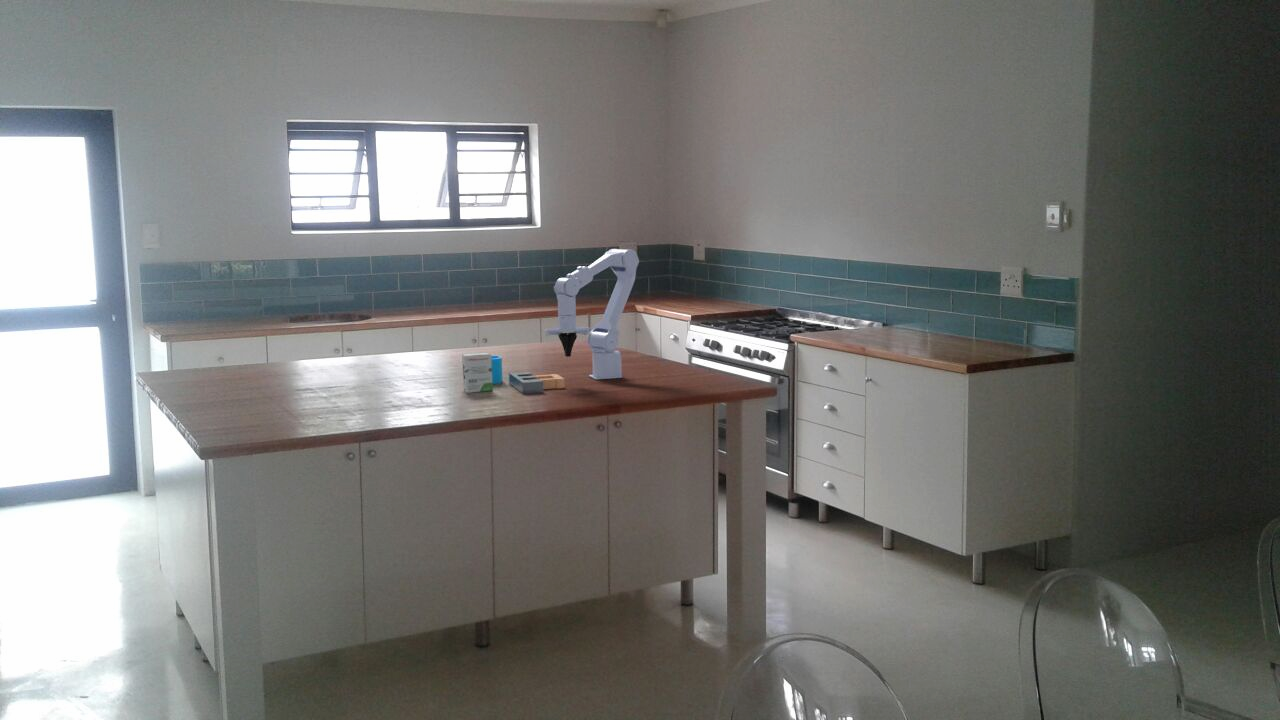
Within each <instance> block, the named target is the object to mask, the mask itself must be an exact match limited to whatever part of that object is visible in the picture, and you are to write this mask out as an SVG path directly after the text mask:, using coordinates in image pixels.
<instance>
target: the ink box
mask: <svg viewBox="0 0 1280 720" xmlns="http://www.w3.org/2000/svg"><path fill="white" fill-rule="evenodd" d="M491 356H492V354H490V353H488V352H482V353H465V354H461V358H462V359H461V360H462V363H461V364H462V381H463V384H462V385H463V392H465V393H467V394H469V393H479V392H491V391H493V390H494V386H493V385H494V384H493V382H492V361H491Z"/></svg>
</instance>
